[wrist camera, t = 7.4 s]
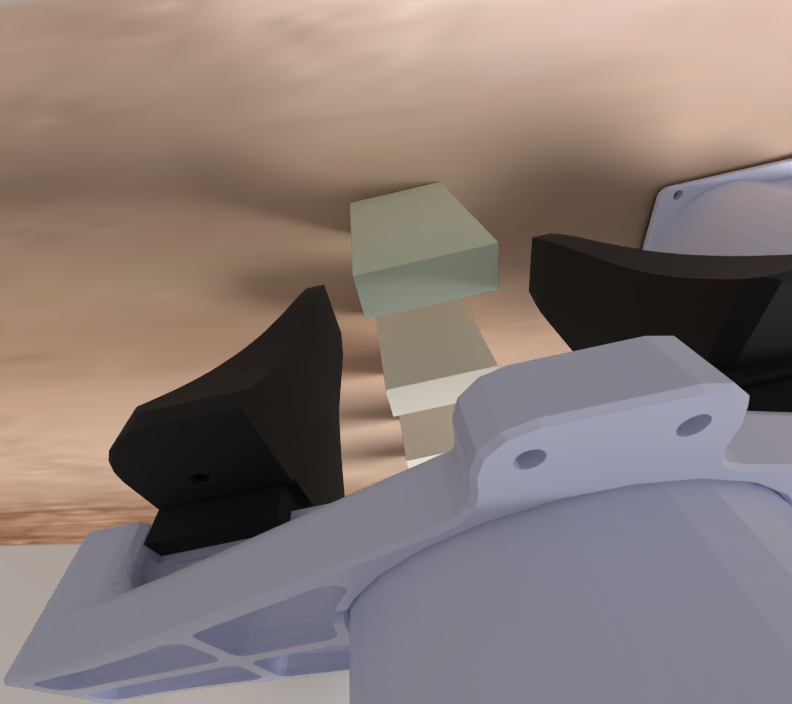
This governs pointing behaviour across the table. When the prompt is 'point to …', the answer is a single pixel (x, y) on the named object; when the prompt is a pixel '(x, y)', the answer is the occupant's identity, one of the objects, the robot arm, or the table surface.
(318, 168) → the table surface
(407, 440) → the tile
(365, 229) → the lead tile
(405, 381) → the tile
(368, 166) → the table surface
